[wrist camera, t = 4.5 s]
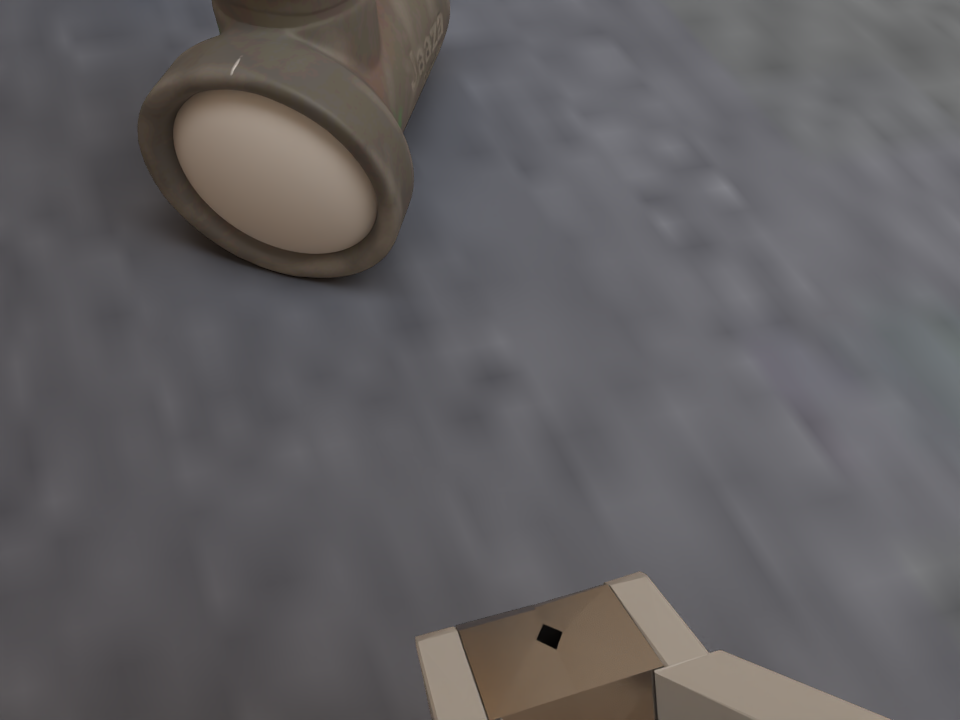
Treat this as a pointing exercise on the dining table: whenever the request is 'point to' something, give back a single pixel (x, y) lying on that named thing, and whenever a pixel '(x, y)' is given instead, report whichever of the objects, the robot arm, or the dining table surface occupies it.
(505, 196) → the dining table surface
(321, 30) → the vintage flashlight
